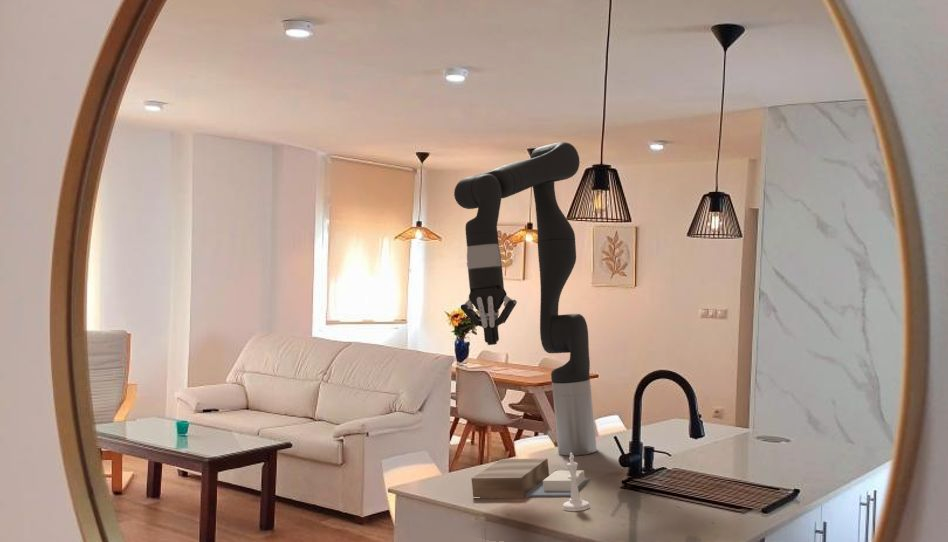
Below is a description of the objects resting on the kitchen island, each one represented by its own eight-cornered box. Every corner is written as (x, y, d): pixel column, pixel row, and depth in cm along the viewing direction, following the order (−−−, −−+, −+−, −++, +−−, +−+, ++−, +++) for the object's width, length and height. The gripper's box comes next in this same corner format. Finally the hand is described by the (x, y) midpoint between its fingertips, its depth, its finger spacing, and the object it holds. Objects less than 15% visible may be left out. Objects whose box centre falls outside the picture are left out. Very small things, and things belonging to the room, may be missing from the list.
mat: (545, 480, 190) (545, 478, 190) (589, 479, 186) (589, 477, 186) (524, 496, 176) (524, 494, 176) (571, 496, 173) (571, 494, 173)
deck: (503, 477, 196) (501, 459, 196) (549, 477, 192) (547, 458, 192) (473, 498, 179) (471, 478, 179) (523, 498, 176) (521, 477, 176)
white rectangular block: (583, 470, 185) (584, 480, 184) (555, 470, 187) (556, 480, 187) (571, 480, 176) (572, 490, 176) (542, 480, 178) (543, 490, 178)
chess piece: (559, 511, 163) (554, 456, 163) (567, 504, 168) (562, 450, 168) (585, 511, 161) (580, 455, 161) (593, 504, 166) (587, 450, 166)
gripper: (518, 263, 199) (526, 341, 199) (463, 268, 204) (470, 345, 203) (507, 263, 192) (515, 344, 192) (450, 269, 197) (458, 348, 196)
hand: (492, 344), depth 198 cm, fingers closed
